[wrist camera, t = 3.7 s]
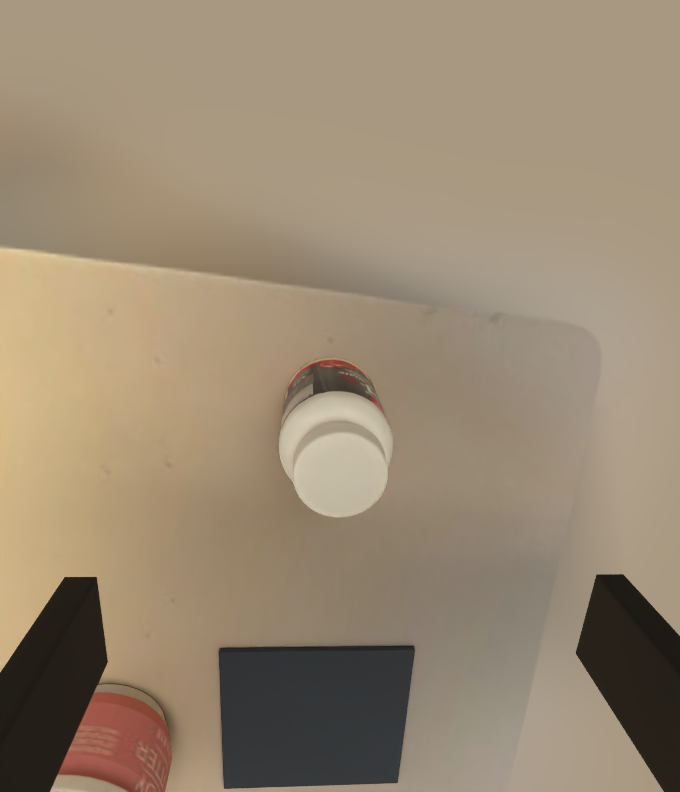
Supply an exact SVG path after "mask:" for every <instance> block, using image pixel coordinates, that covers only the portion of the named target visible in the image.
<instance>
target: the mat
mask: <svg viewBox="0 0 680 792" xmlns="http://www.w3.org/2000/svg"><path fill="white" fill-rule="evenodd" d="M414 652H415V649H414V646H372V647H284V648H220V650H219V667H220V694H221V721H222V749H223V776H224V789H230V788H260V787H291V786H321V785H351V784H382V783H398V776H399V768H400V760H401V753H402V745H403V737H404V729H405V722H406V714H407V706H408V698H409V691H410V683H411V675H412V667H413V660H414Z"/></svg>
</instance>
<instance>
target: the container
mask: <svg viewBox="0 0 680 792" xmlns="http://www.w3.org/2000/svg"><path fill="white" fill-rule="evenodd" d="M171 759H172V751H171V742H170V735H169V731H168V728H167V725H166V723H165V717H164V714H163V711H162V710H161V708H160V706H159V705H158V704H157V703H156V702H155V701H154V700H153V699H152V698H151V697H149V696H148V695H147V694H145V693H143V692H141V691H139V690H137V689H134V688H131V687H128V686H123V685H117V684H103V685H97V687H96V690H95V692H94V694H93V696H92V699H91V701H90V703H89V705H88V708H87V710H86V712H85V714H84V717H83V719H82V721H81V723H80V726H79V728H78V730H77V732H76V735H75V737H74V739H73V741H72V743H71V746H70V748H69V750H68V752H67V755H66V757H65V759H64V761H63V764H62V766H61V768H60V770H59V773H58V775H57V777H56V779H55V782H54V784H53V786H52V788H51V791H50V792H165V788H166V784H167V779H168V774H169V769H170V764H171Z"/></svg>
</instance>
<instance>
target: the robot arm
mask: <svg viewBox="0 0 680 792" xmlns="http://www.w3.org/2000/svg"><path fill="white" fill-rule="evenodd" d="M576 654H577V656H578V658H579V659H580V661H581V662H582V664H583V665H584V667H585V668H586V670H587V672H588V673H589V675H590V676H591V678H592V679H593V681H594V682H595V684H596V686H597V687H598V689H599V690H600V692H601V694H602V695H603V697H604V698H605V700H606V701H607V703H608V705H609V706H610V708H611V709H612V711H613V712H614V714H615V715H616V717H617V719H618V720H619V722H620V723H621V725H622V727H623V728H624V729H625V731H626V733H627V734H628V736H629V737H630V739H631V741H632V742H633V744H634V745H635V747H636V748H637V750H638V751H639V753H640V754H641V756H642V758H643V759H644V761H645V763H646V764H647V766H648V767H649V769H650V770H651V772H652V774H653V775H654V777H655V778H656V780H657V781H658V783H659V784H660V786H661V788H662V789H663V791H664V792H680V636H679V635H678V634H677V633H676V632H675V630H674V629H673V628H672V627H671V626H670V625H669V624H668V623H667V622H666V621H665V620H664V618H663V617H662V616H661V615H660V614H659V613H658V612H657V611H656V610H655V609H654V608H653V606H652V605H651V604H650V603H649V602H648V601H647V600H646V599H645V598H644V597H643V596H642V594H641V593H640V592H639V591H638V590H637V589H636V588H635V587H634V586H633V585H632V584H631V583H630V581H629V580H628V579H627V578H626V577H625V576H624V575H621V574H620V575H596V579H595V583H594V587H593V590H592V594H591V598H590V601H589V605H588V609H587V613H586V616H585V620H584V624H583V628H582V632H581V635H580V639H579V643H578V647H577V650H576ZM107 663H108V660H107V653H106V645H105V637H104V630H103V622H102V614H101V607H100V599H99V591H98V583H97V577H65V578H64V579H63V581H62V582H61V584H60V585H59V587H58V588H57V589H56V591H55V592H54V594H53V595H52V597H51V598H50V600H49V601H48V603H47V604H46V606H45V607H44V609H43V610H42V612H41V613H40V615H39V616H38V618H37V619H36V621H35V622H34V624H33V625H32V627H31V628H30V630H29V631H28V633H27V634H26V636H25V637H24V638H23V640H22V641H21V643H20V644H19V646H18V647H17V649H16V650H15V652H14V653H13V655H12V656H11V658H10V659H9V661H8V662H7V664H6V665H5V667H4V668H3V670H2V671H1V673H0V792H50V791H51V788H52V786H53V784H54V782H55V779H56V777H57V775H58V773H59V770H60V768H61V766H62V764H63V761H64V759H65V757H66V755H67V752H68V750H69V748H70V746H71V743H72V741H73V739H74V737H75V735H76V732H77V730H78V728H79V726H80V723H81V721H82V719H83V717H84V714H85V712H86V710H87V708H88V705H89V703H90V701H91V699H92V696H93V694H94V692H95V690H96V687H97V685H98V683H99V681H100V678H101V676H102V674H103V672H104V669H105V667H106V665H107Z"/></svg>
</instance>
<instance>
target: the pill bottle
mask: <svg viewBox="0 0 680 792" xmlns="http://www.w3.org/2000/svg"><path fill="white" fill-rule="evenodd" d="M392 454H393V437H392V432H391V428H390V425H389V422H388V420H387V418H386V416H385V413H384V411H383V408H382V406H381V404H380V401H379V399H378V396H377V394H376V391H375V389H374V386H373V384H372V382H371V380H370V379H369V377H368V376H367V374H366V373H365V372H364V371H363V370H362V369H361V368H360V367H358V366H357V365H355V364H354V363H352V362H350V361H347V360H344V359H340V358H321V359H317V360H314V361H312V362H310V363H308V364H306V365H305V366H304V367H302V368H301V369H300V370H299V371H297V373H296V374H295V375H294V376H293V378H292V379H291V381H290V383H289V385H288V388H287V391H286V395H285V400H284V408H283V416H282V423H281V431H280V436H279V455H280V460H281V463H282V466H283V468H284V470H285V472H286V474H287V475H288V477H289V478H290V479H291V480H292V482H293V483H294V487H295V490H296V492H297V494H298V496H299V497H300V499H301V500H302V501H303V502H304V504H305V505H307V506H308V507H309V508H310V509H312V510H313V511H315V512H317V513H319V514H322V515H325V516H329V517H337V518H340V517H349V516H354V515H357V514H359V513H362V512H364V511H365V510H367V509H369V508H370V507H371V506H372V505H374V504H375V503H376V502H377V501H378V499H379V498H380V497H381V495H382V494H383V492H384V489H385V487H386V484H387V479H388V467H389V464H390V462H391V458H392Z"/></svg>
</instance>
